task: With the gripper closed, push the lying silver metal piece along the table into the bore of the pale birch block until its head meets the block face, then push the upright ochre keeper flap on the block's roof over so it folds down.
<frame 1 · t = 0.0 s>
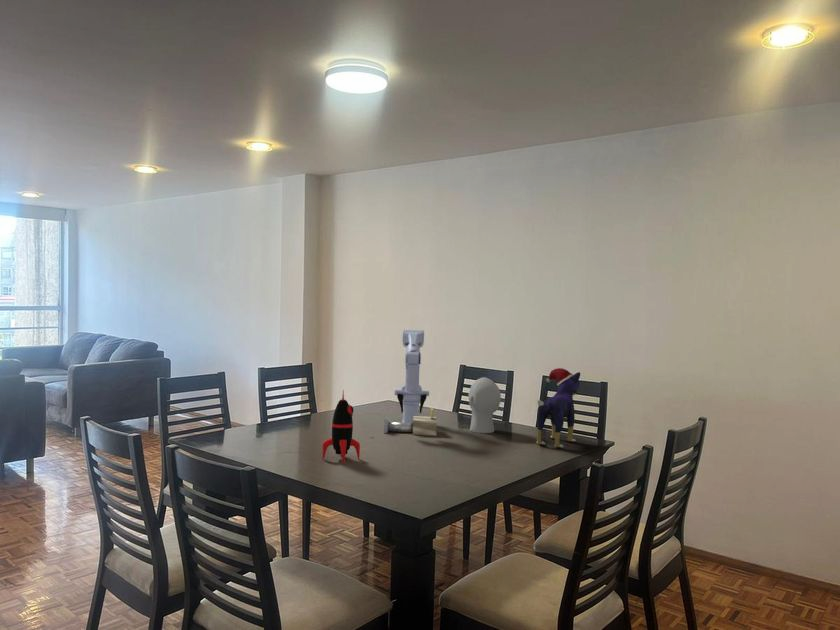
hand: (411, 412, 263), 10 cm above the table, fingers open, 7 cm apart
silver metal piece: (401, 425, 271), point 3 cm above the table, slide at 0.0 cm
keeper flap: (431, 413, 271), point 8 cm above the table, hinge at 0.0°
toy: (550, 443, 260), on the table
head: (482, 431, 279), on the table
toy rocket: (340, 459, 223), on the table
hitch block: (424, 432, 272), on the table
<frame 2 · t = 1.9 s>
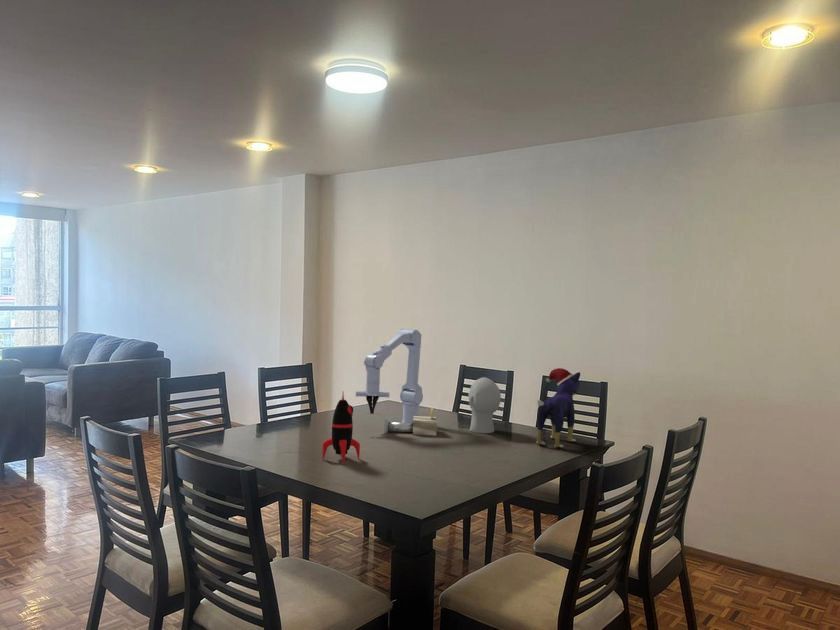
hand: (372, 413, 271), 8 cm above the table, fingers closed
nothing on the table moved.
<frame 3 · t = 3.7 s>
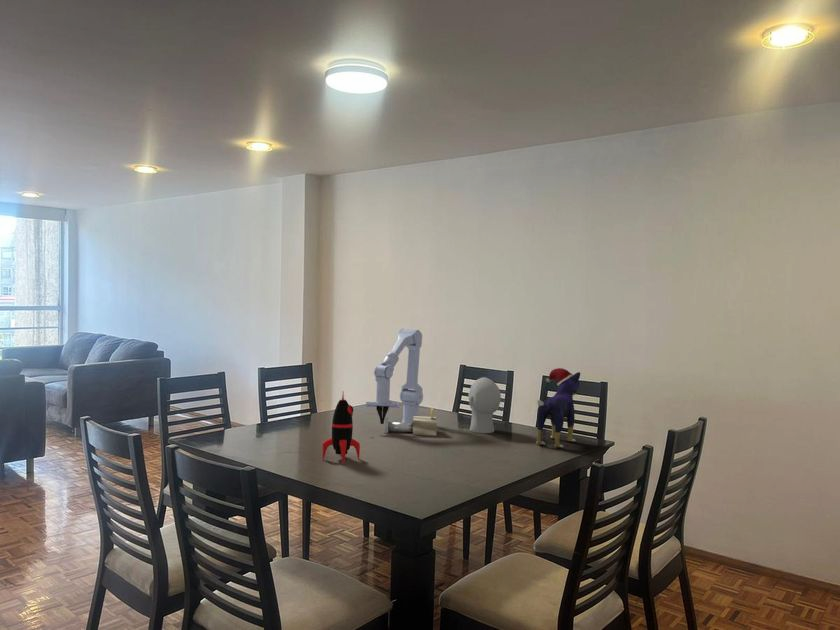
hand: (382, 423, 271), 3 cm above the table, fingers closed
silver metal piece: (401, 425, 271), point 3 cm above the table, slide at 0.3 cm, touching gripper
everything else where it was.
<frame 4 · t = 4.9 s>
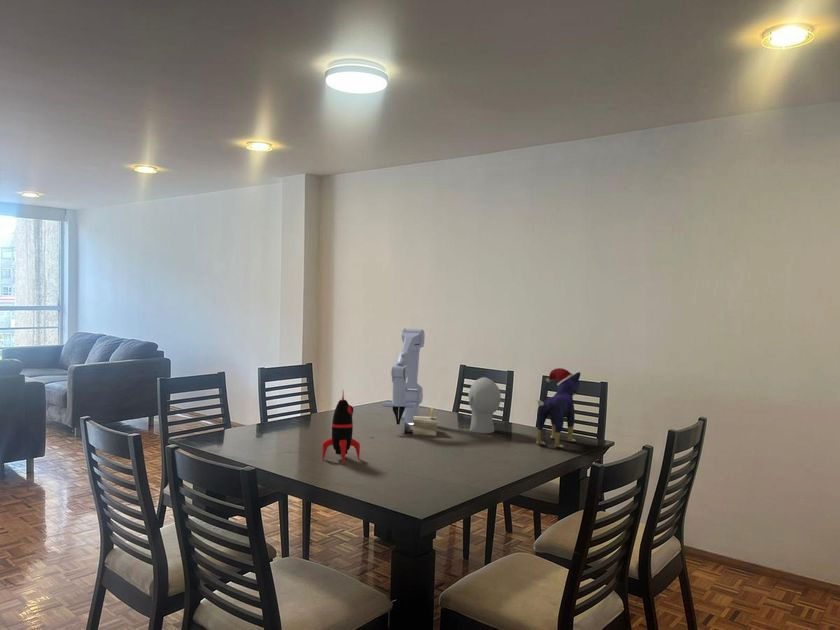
hand: (398, 424, 271), 3 cm above the table, fingers closed
silver metal piece: (417, 425, 271), point 3 cm above the table, slide at 7.3 cm, touching gripper
everything else where it was.
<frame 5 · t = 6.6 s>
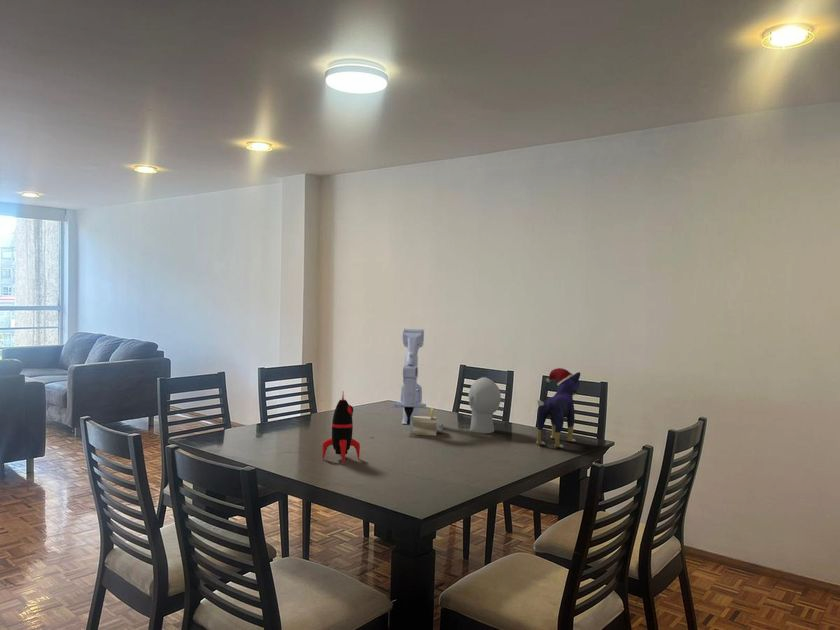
hand: (408, 424, 271), 3 cm above the table, fingers closed, pressing on silver metal piece
silver metal piece: (426, 425, 272), point 3 cm above the table, slide at 11.0 cm, touching gripper, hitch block
everything else where it was.
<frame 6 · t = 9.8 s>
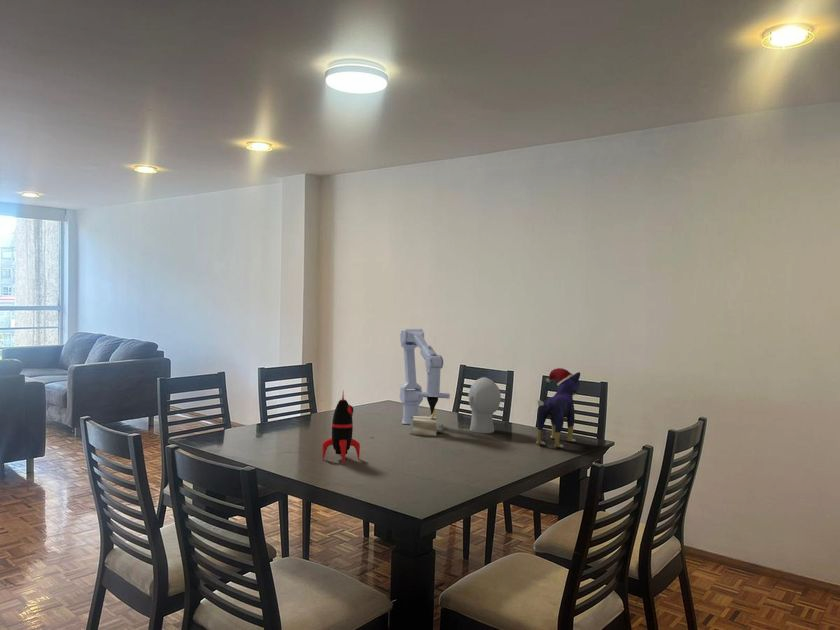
hand: (432, 414, 271), 8 cm above the table, fingers closed, pressing on keeper flap
silver metal piece: (426, 425, 272), point 3 cm above the table, slide at 11.0 cm, touching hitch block
keeper flap: (432, 413, 271), point 8 cm above the table, hinge at 18.0°, touching gripper
everything else where it was.
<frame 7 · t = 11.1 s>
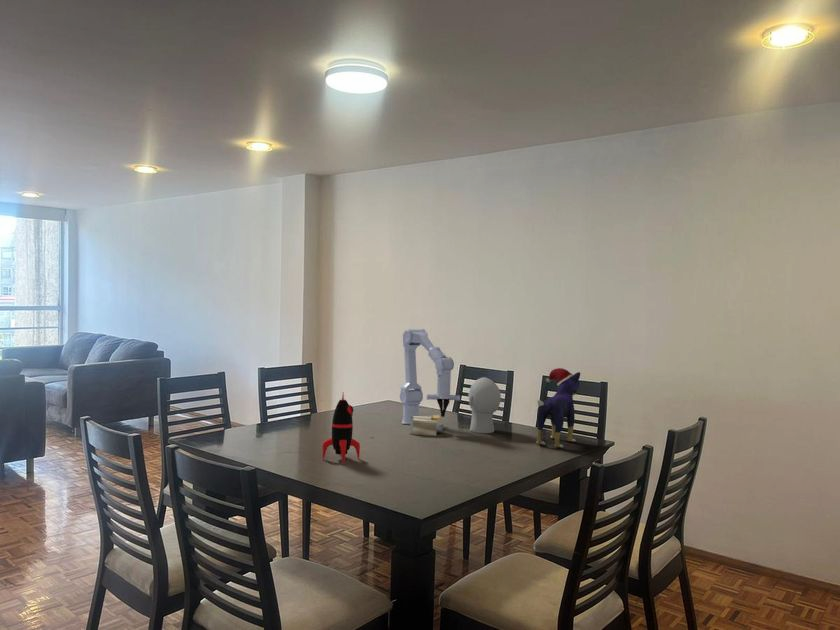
hand: (442, 416, 272), 7 cm above the table, fingers closed
keeper flap: (435, 417, 271), point 7 cm above the table, hinge at 89.1°
everything else where it was.
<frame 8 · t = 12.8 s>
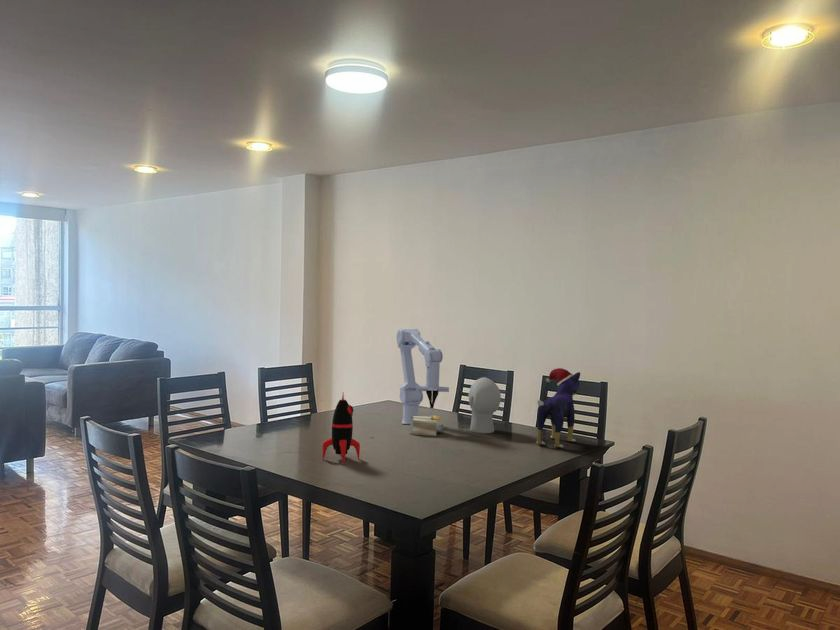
hand: (431, 407, 274), 10 cm above the table, fingers closed
keeper flap: (435, 417, 271), point 7 cm above the table, hinge at 96.6°
everything else where it was.
at the end: silver metal piece slide at 11.0 cm; keeper flap at +97° (first picture: +0°) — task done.
